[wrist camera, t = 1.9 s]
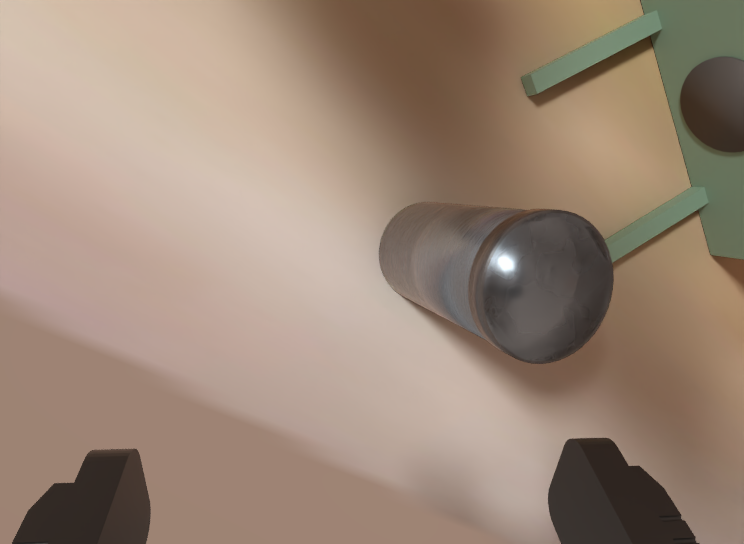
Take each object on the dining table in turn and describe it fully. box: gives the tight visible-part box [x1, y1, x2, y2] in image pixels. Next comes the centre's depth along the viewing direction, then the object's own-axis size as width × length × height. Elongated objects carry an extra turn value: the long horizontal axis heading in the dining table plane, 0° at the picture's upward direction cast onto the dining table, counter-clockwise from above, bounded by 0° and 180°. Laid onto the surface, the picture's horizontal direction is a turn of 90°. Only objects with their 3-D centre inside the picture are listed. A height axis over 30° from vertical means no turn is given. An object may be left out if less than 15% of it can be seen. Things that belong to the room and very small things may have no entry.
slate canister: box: [379, 202, 613, 364], centre depth 27 cm, size 6×6×12 cm
